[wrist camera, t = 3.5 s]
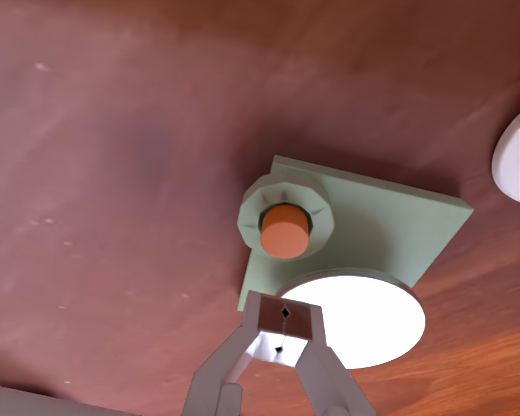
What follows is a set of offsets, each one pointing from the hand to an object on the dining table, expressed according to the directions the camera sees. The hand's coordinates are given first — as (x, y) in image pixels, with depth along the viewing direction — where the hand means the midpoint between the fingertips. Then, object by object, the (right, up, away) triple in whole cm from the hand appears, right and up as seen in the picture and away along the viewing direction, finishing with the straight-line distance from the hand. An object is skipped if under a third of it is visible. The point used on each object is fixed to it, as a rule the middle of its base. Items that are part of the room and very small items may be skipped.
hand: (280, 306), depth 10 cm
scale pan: (+5, -4, +7) cm, 9 cm away
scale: (+5, 0, +9) cm, 10 cm away
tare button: (+1, +3, +5) cm, 6 cm away
